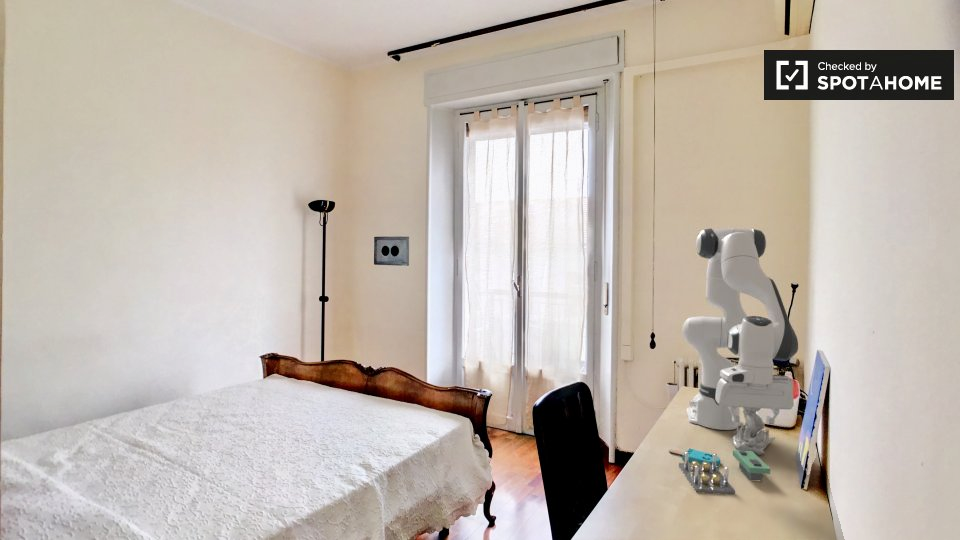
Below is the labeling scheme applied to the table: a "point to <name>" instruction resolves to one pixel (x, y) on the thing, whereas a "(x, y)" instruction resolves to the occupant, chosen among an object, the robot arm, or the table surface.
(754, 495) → the table surface
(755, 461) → the board
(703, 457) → the toy
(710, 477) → the chassis
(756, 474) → the grey rectangular block
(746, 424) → the figurine
